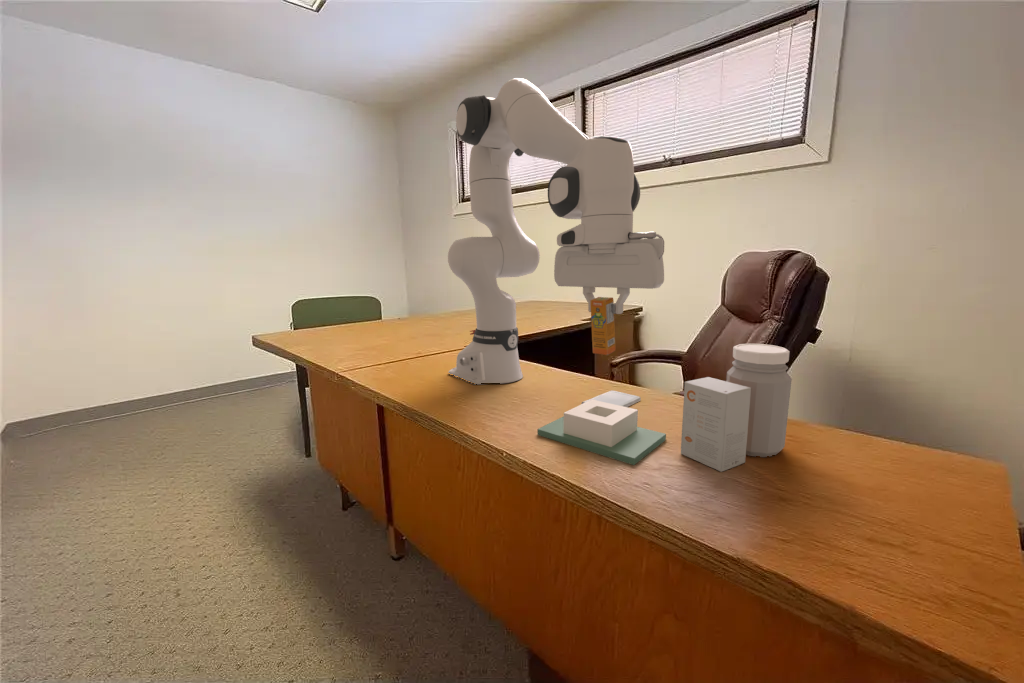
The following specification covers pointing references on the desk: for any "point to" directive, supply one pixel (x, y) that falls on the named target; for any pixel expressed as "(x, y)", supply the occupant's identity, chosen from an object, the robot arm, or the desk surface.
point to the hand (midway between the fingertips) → (605, 312)
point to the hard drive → (617, 398)
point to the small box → (715, 422)
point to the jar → (763, 394)
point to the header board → (616, 452)
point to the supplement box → (602, 325)
